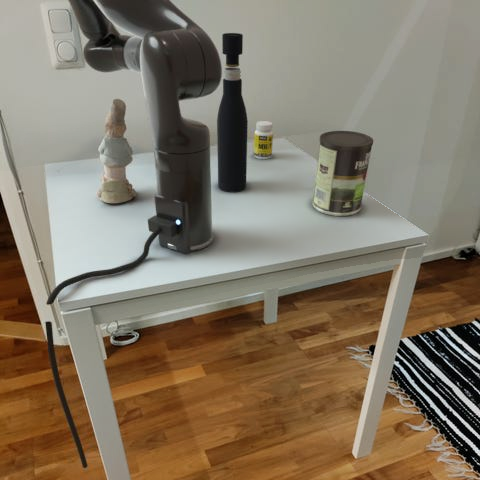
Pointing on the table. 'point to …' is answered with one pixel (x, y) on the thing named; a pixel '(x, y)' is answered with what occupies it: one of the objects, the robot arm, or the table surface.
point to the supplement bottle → (263, 140)
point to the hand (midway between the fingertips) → (198, 65)
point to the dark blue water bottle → (232, 121)
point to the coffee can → (341, 172)
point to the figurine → (115, 157)
